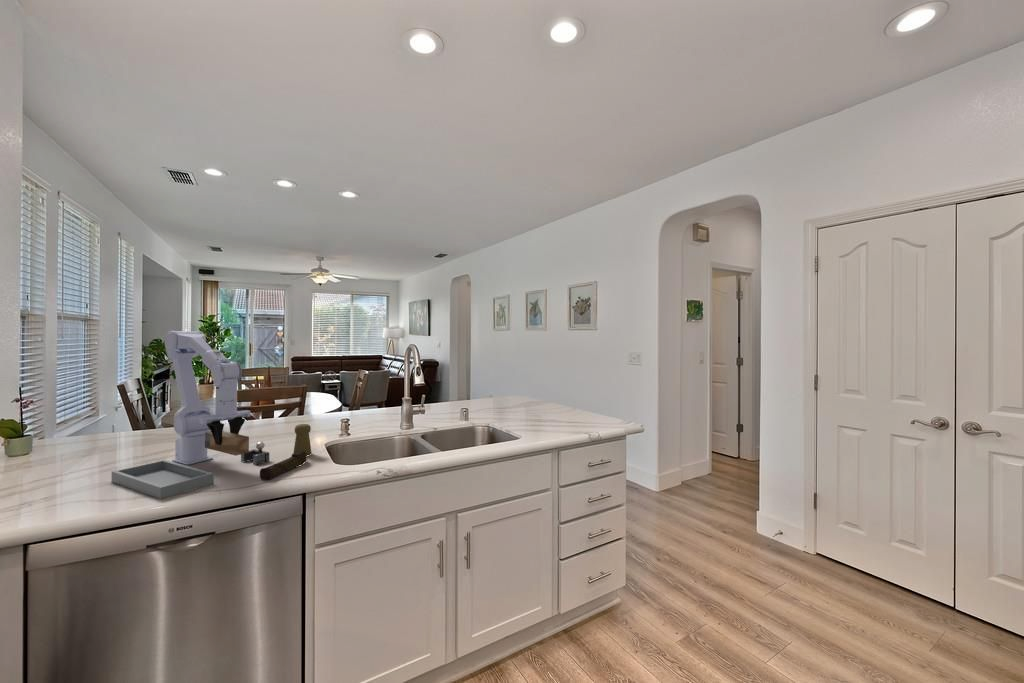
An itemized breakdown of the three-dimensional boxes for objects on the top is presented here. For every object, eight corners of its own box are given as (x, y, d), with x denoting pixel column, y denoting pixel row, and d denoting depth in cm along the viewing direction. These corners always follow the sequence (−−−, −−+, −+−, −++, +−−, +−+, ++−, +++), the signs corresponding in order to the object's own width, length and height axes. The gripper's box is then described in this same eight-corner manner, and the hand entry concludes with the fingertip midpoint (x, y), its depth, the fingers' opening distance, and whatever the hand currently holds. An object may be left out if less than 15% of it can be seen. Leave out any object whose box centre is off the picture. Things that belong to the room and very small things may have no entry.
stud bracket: (241, 461, 144) (241, 442, 143) (256, 457, 148) (256, 439, 148) (256, 464, 140) (256, 446, 140) (271, 460, 145) (271, 442, 145)
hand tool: (270, 482, 126) (270, 466, 126) (258, 480, 127) (258, 465, 127) (313, 463, 144) (313, 449, 144) (302, 462, 145) (303, 448, 145)
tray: (111, 481, 122) (111, 471, 122) (164, 469, 134) (164, 459, 134) (160, 499, 111) (160, 487, 111) (213, 483, 123) (213, 473, 123)
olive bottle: (297, 452, 155) (297, 422, 155) (314, 452, 156) (314, 422, 155) (289, 457, 149) (290, 426, 149) (307, 457, 149) (308, 426, 149)
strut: (235, 455, 130) (236, 439, 130) (204, 447, 137) (204, 432, 137) (248, 452, 134) (249, 436, 134) (217, 444, 141) (218, 429, 140)
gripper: (209, 404, 127) (209, 449, 127) (256, 398, 140) (256, 439, 140) (195, 402, 130) (195, 446, 130) (243, 396, 143) (242, 436, 143)
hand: (226, 442), depth 135 cm, fingers closed on strut, 4 cm apart
